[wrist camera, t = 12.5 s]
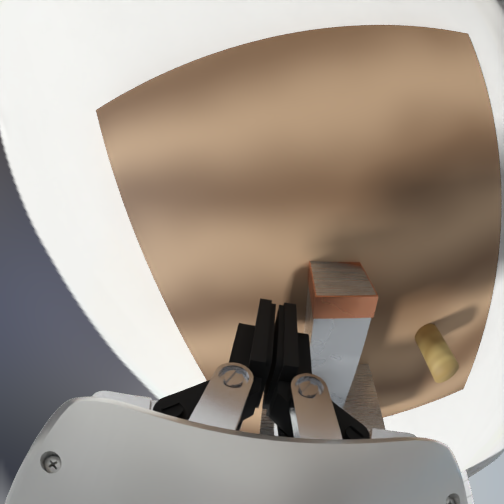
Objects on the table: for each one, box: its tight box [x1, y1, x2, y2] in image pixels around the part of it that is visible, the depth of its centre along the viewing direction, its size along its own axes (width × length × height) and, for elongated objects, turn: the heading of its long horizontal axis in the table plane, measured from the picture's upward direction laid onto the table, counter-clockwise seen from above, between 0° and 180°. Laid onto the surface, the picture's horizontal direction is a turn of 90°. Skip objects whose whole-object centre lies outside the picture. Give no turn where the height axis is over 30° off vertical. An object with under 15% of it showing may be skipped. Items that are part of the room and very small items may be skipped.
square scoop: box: [259, 261, 385, 436], centre depth 12 cm, size 13×6×6 cm, turn 1°
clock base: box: [96, 25, 501, 434], centre depth 12 cm, size 26×20×5 cm
